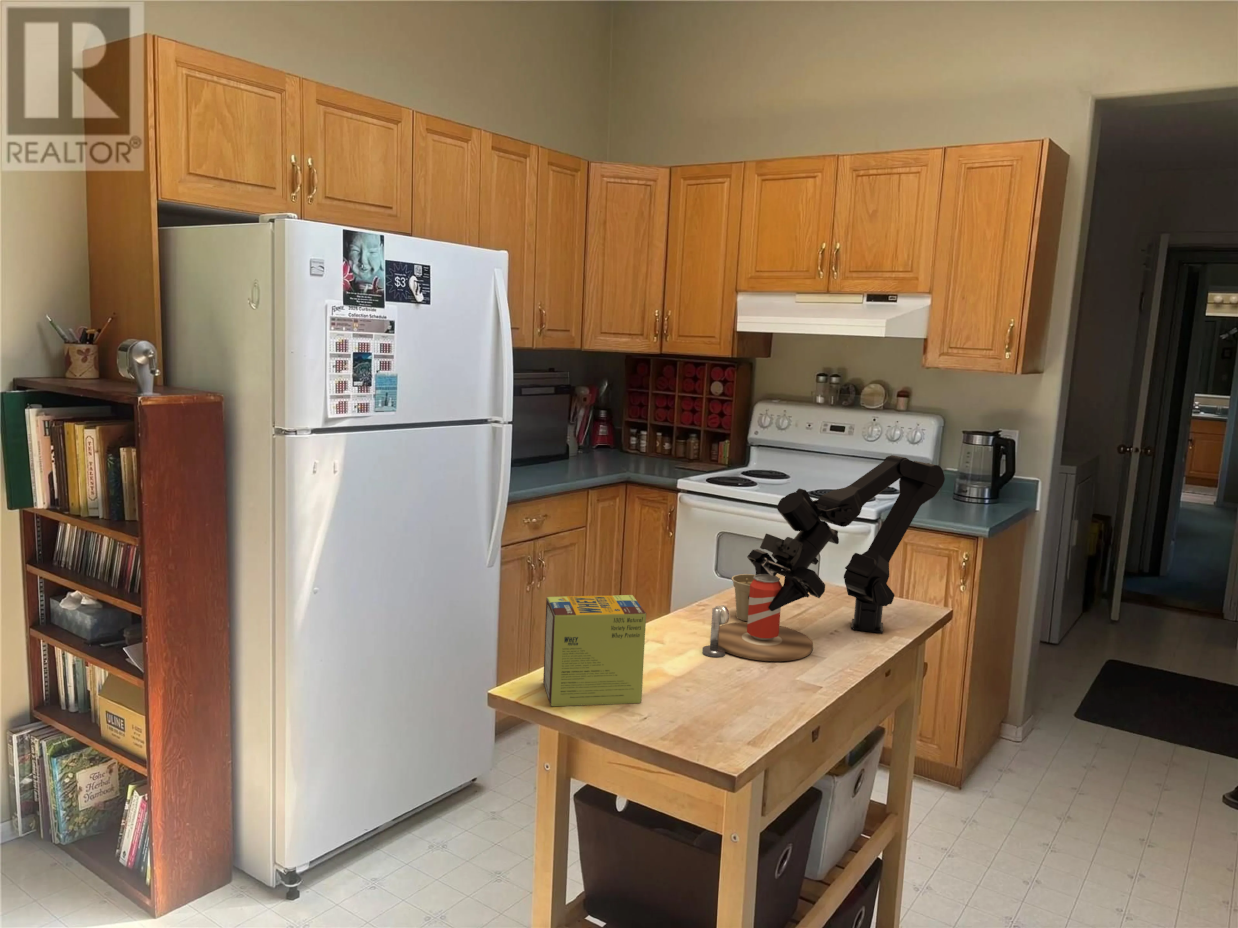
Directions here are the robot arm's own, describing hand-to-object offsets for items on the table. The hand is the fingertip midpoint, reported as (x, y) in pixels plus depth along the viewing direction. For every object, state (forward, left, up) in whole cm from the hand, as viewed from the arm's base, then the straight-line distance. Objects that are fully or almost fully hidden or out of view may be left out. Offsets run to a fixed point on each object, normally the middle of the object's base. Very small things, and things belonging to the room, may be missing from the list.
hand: (759, 604), depth 178 cm
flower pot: (-17, -4, -9) cm, 19 cm away
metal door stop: (+8, -7, -8) cm, 14 cm away
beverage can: (-1, +1, -7) cm, 7 cm away
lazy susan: (-1, +1, -8) cm, 8 cm away
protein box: (+35, -23, -9) cm, 43 cm away
